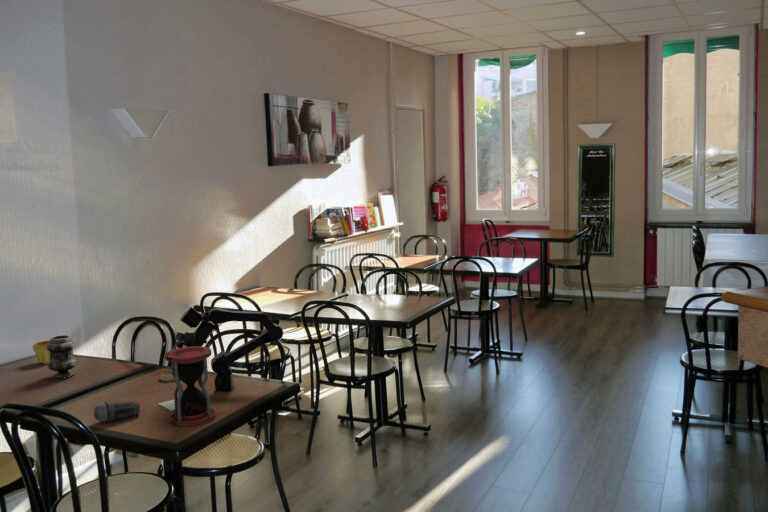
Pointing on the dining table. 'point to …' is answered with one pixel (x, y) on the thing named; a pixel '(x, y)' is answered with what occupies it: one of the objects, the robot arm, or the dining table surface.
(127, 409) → the beverage cup
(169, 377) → the bread roll
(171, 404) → the mat
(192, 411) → the hourglass
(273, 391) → the dining table surface
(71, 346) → the apothecary jar
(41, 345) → the plant pot
